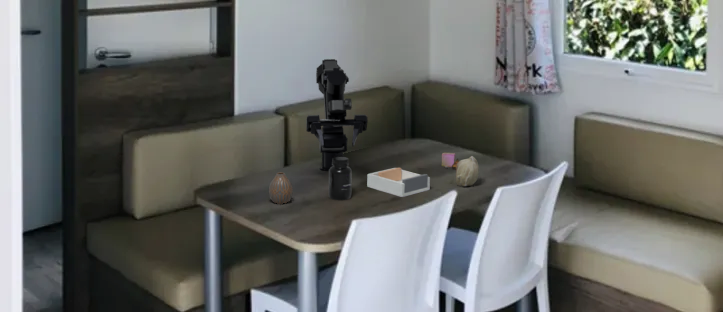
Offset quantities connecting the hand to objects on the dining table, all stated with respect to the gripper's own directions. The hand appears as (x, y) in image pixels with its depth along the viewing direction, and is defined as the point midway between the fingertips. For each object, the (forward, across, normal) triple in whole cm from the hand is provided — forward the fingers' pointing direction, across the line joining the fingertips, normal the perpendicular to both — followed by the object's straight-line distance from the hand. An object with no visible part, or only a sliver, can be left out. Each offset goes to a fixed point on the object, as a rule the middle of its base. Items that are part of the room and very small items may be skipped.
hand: (338, 146), depth 294 cm
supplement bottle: (+16, 0, +4) cm, 16 cm away
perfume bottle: (-8, +42, +28) cm, 51 cm away
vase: (+18, -18, +1) cm, 26 cm away
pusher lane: (+10, +19, +10) cm, 23 cm away
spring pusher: (+6, +16, +11) cm, 20 cm away
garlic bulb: (+9, +40, +11) cm, 43 cm away
